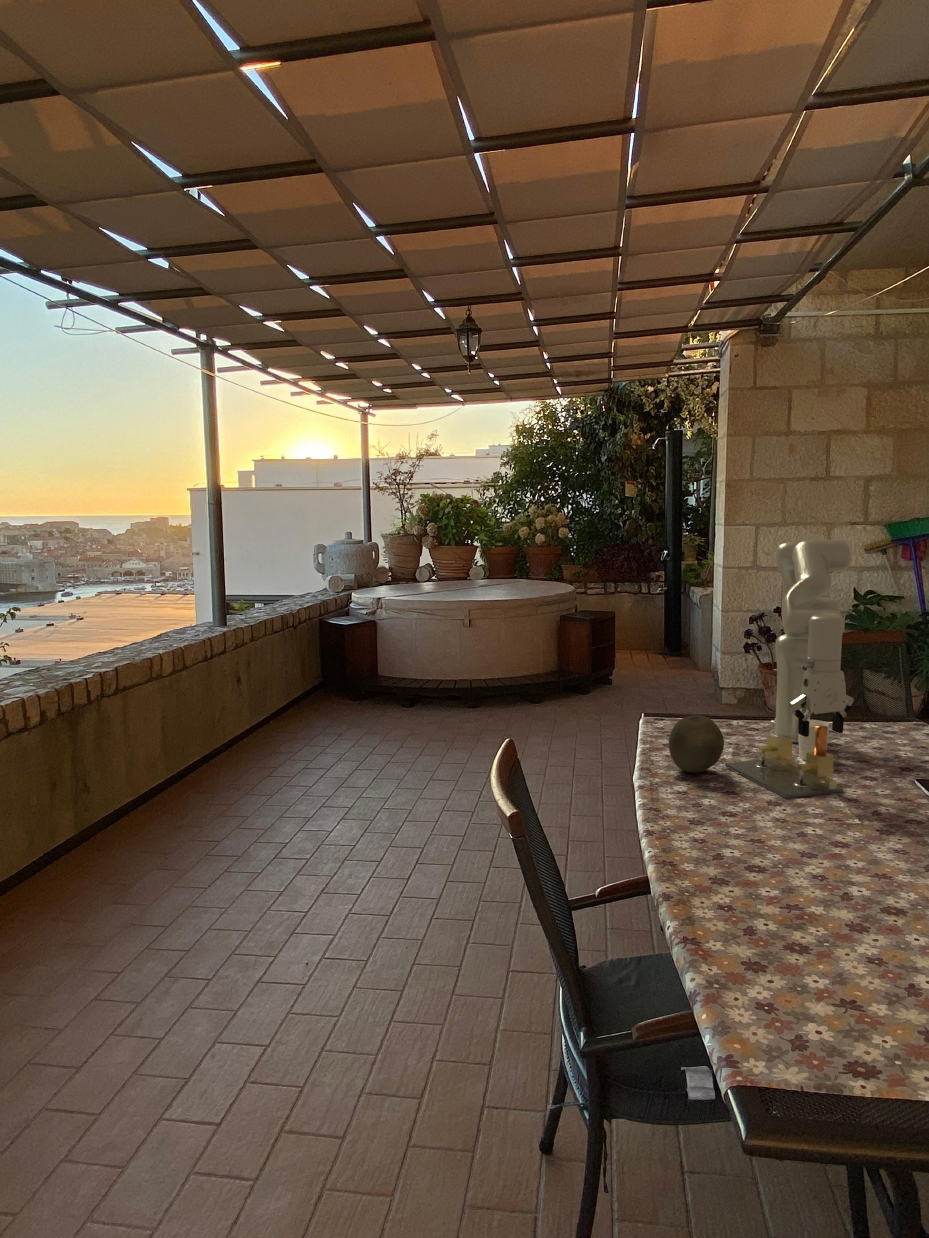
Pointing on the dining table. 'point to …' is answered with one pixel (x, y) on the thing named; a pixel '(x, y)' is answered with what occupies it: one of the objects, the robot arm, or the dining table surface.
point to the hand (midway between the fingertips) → (820, 733)
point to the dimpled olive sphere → (695, 743)
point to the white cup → (810, 738)
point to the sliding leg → (818, 756)
